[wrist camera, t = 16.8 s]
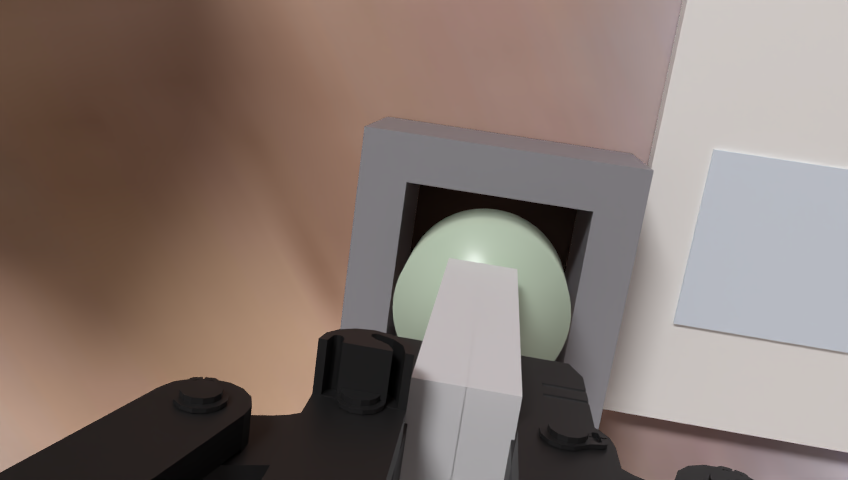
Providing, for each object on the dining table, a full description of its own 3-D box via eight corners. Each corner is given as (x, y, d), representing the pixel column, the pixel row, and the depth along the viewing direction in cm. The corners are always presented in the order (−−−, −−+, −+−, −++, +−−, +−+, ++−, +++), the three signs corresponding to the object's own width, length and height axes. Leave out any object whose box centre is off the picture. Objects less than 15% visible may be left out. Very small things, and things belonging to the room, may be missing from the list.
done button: (579, 222, 18) (586, 240, 16) (549, 374, 19) (553, 409, 17) (416, 196, 19) (404, 211, 17) (395, 347, 20) (381, 378, 18)
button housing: (631, 153, 21) (653, 170, 18) (584, 381, 23) (596, 436, 20) (387, 116, 22) (364, 126, 19) (359, 342, 24) (333, 388, 20)
